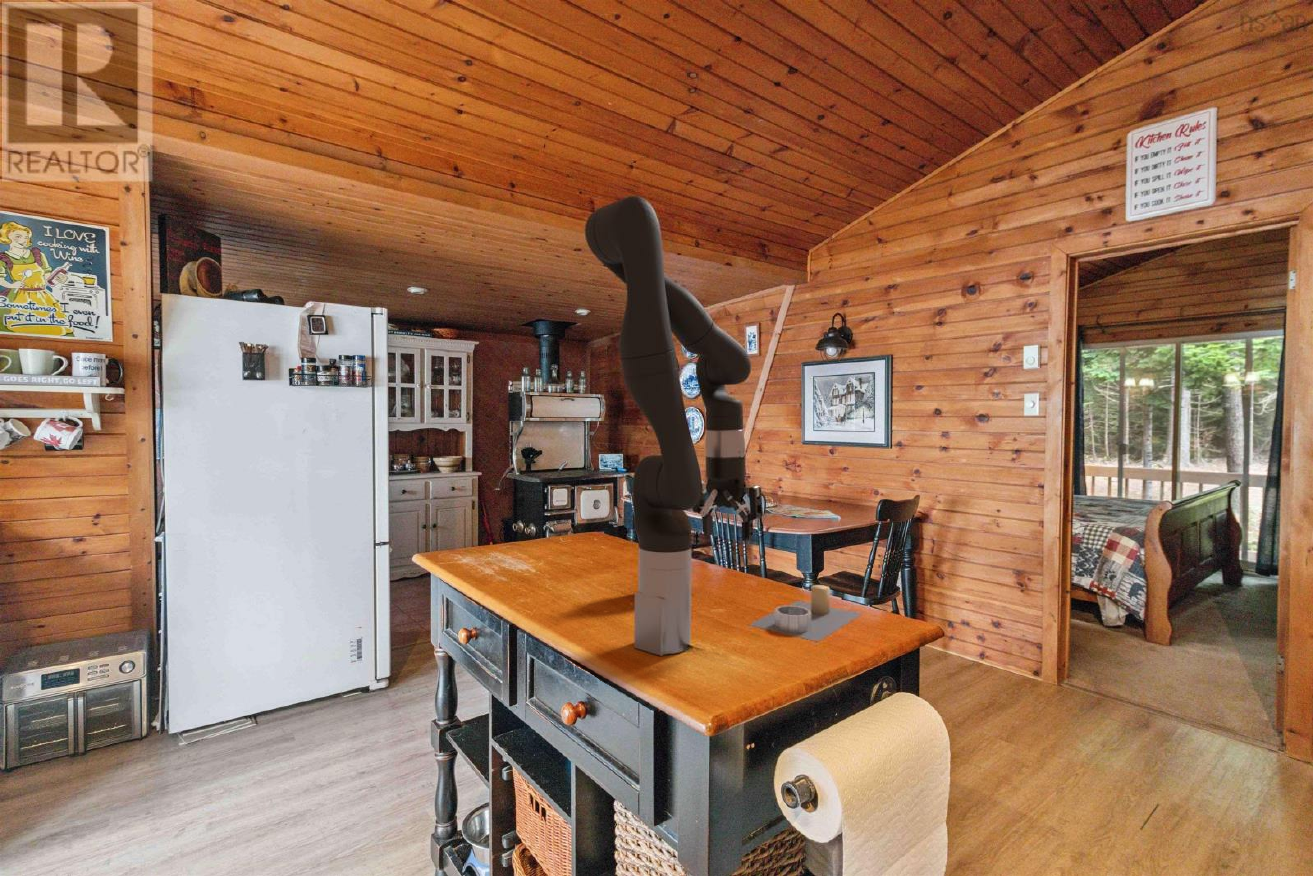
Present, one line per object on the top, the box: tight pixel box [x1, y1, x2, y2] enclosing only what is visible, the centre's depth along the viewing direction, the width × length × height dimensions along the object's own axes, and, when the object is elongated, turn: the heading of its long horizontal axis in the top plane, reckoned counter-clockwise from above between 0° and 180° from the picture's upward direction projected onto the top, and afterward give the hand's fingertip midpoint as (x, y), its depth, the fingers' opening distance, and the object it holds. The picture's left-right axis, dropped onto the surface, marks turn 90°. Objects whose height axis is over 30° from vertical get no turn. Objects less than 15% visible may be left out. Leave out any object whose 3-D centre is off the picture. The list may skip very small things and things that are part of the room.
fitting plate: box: [747, 584, 863, 643], centre depth 118 cm, size 21×14×6 cm, turn 140°
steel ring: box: [774, 604, 811, 633], centre depth 113 cm, size 7×7×3 cm
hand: (727, 537), depth 116 cm, fingers open, 8 cm apart
